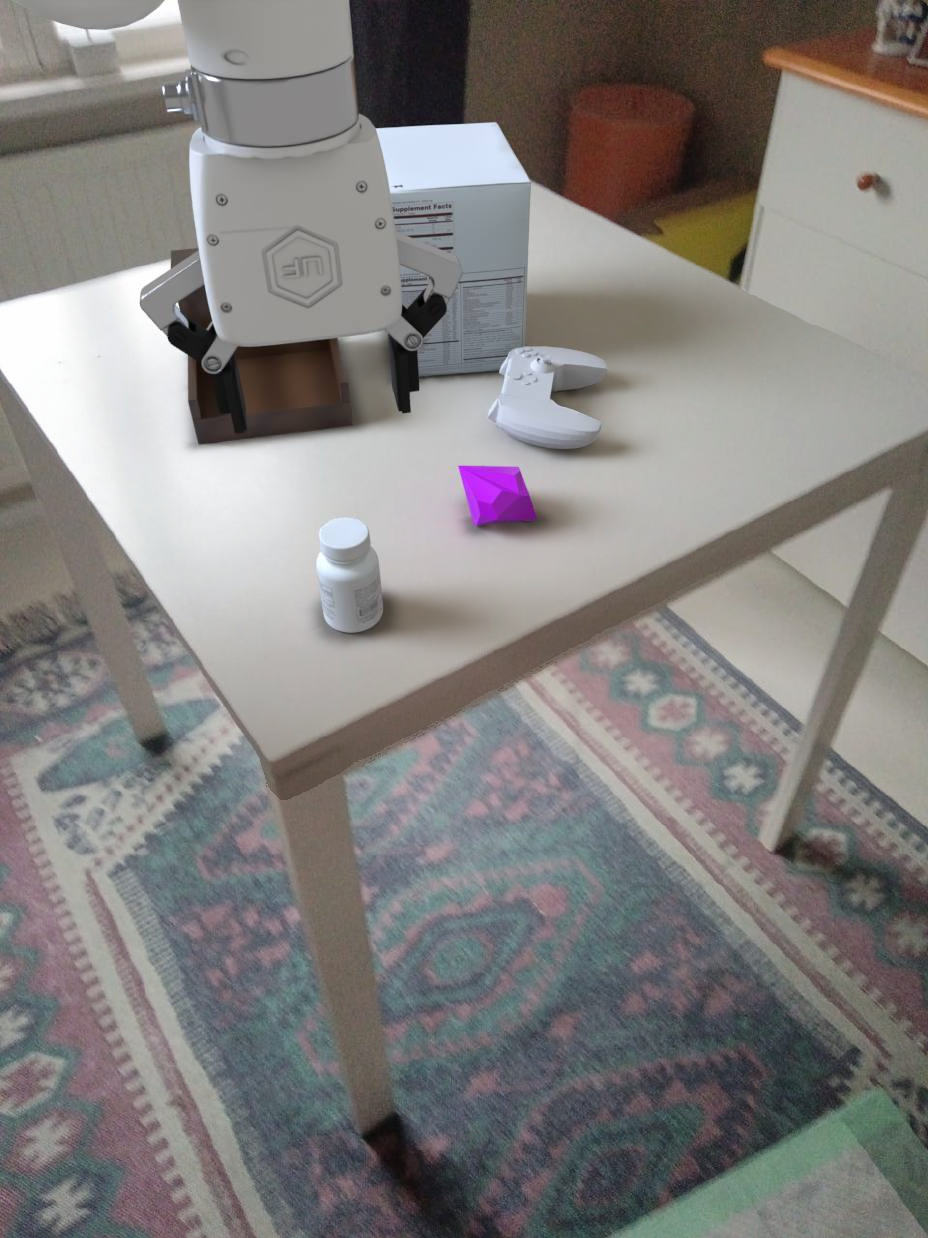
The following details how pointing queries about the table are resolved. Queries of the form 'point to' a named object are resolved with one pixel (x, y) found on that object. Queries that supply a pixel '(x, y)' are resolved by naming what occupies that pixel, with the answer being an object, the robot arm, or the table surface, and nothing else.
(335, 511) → the table surface
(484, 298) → the supplement box
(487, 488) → the crystal
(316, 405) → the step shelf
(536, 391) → the game controller
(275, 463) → the table surface
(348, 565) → the pill bottle
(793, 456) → the table surface
